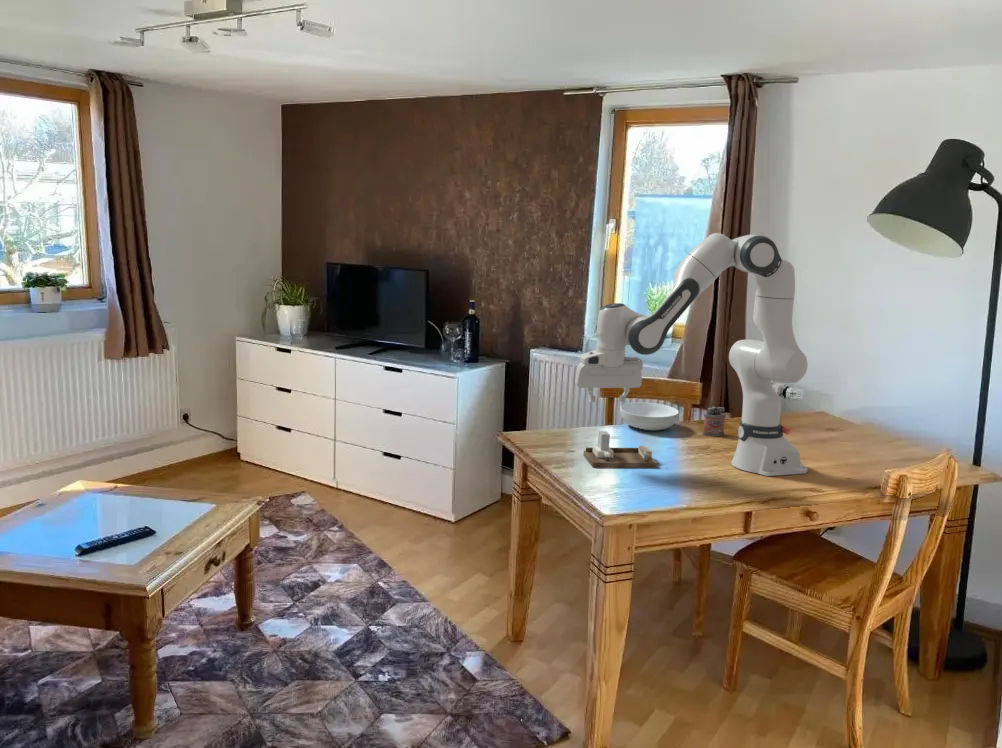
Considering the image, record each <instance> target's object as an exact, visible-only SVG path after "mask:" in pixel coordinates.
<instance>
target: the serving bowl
mask: <svg viewBox="0 0 1002 748" xmlns="http://www.w3.org/2000/svg"><path fill="white" fill-rule="evenodd" d="M619 410H620V416H621V418H622V420H623V421H624V422H625V423H626V424H627V425H629V426H631V427H633V428H637V429H638V428H639V429H638V430H642V429H643V431H648V430H649V431H650V432H653V431H654V432H655V431H661V430H665V429H668V428H670V427H672V426H673V425H674V424H676V422H677V421H678V418H679V415H680V414H679V413H680V411H679V410H678V409H677V408H675V407H673V406H671V405H666V404H661V403H656V402H645V401H644V402H643V401H641V402H639V401H638V402H635V401H634V402H629V403H628V402H627V403H625V404H622V405H620V406H619Z"/></svg>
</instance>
